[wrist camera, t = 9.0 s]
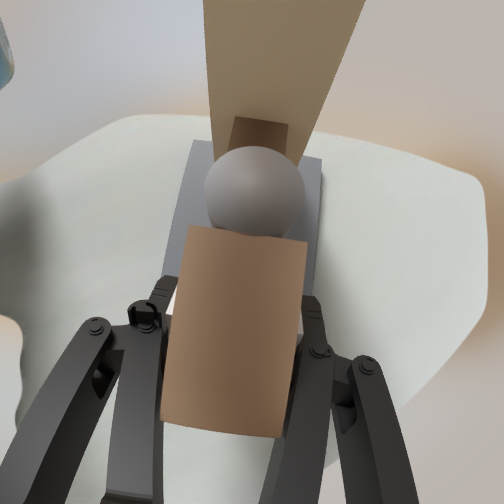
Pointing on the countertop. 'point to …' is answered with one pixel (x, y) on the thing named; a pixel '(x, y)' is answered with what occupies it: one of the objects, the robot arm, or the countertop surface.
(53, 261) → the countertop surface
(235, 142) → the fixed leaf
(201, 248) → the brown wooden block
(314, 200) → the hinge frame
